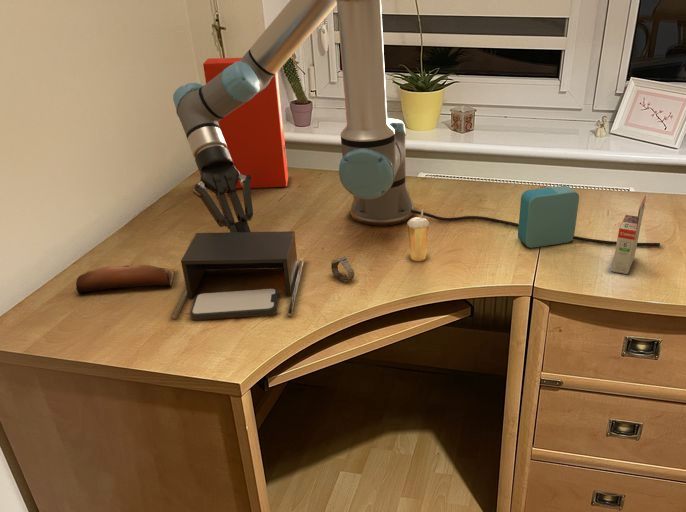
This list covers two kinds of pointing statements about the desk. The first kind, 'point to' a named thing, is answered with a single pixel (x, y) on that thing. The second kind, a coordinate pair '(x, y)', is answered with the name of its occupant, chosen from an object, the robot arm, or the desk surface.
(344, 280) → the wristwatch
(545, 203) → the data package
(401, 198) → the robot arm
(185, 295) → the rails
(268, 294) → the phone case
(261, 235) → the cover
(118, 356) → the desk surface
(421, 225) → the milkshake
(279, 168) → the tall red block
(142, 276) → the sunglasses case
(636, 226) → the ink box
